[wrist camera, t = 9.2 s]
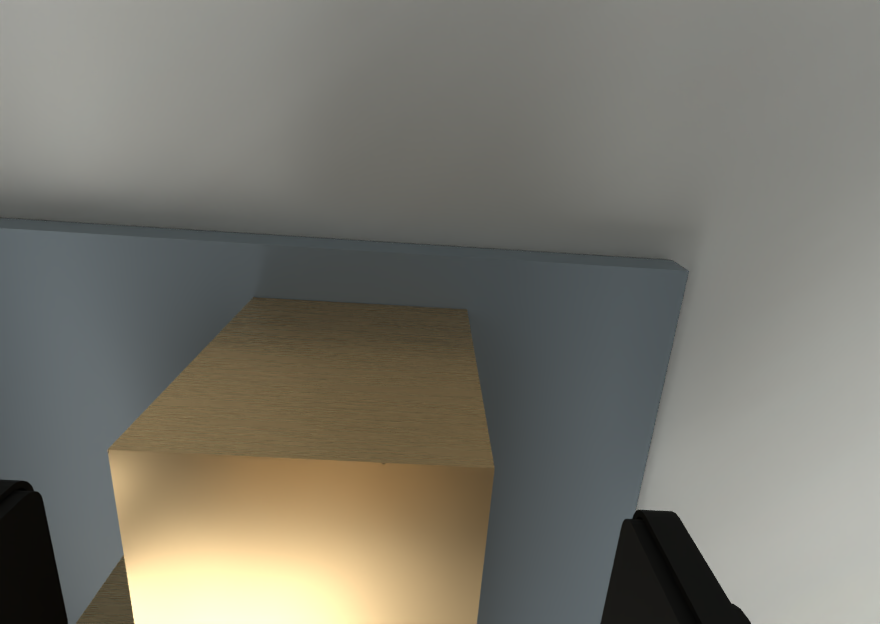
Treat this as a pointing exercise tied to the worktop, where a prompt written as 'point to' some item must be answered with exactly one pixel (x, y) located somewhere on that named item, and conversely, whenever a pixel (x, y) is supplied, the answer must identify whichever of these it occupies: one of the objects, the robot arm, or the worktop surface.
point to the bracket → (308, 475)
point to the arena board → (351, 281)
